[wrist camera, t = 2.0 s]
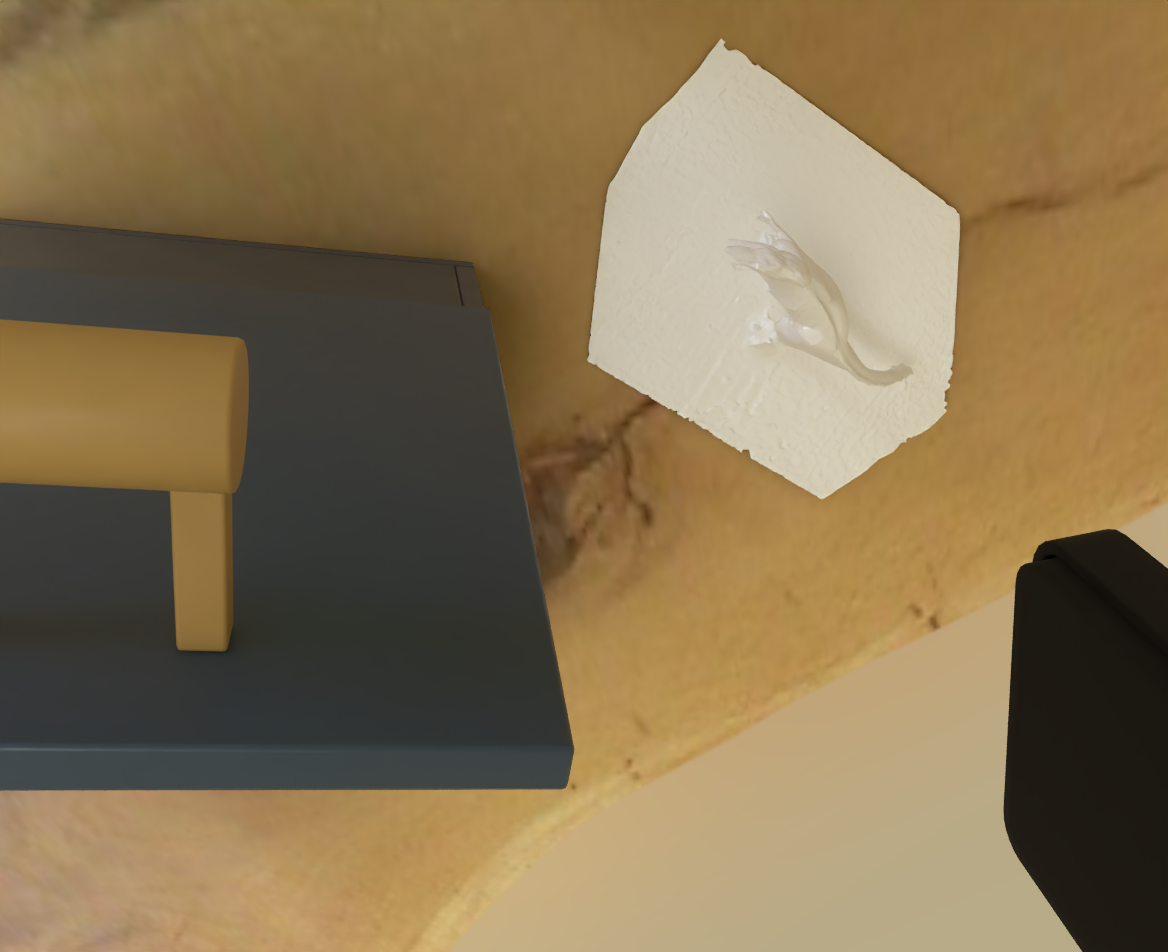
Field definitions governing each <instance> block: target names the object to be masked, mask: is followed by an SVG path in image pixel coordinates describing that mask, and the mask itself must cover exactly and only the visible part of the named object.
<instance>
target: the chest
mask: <svg viewBox="0 0 1168 952" xmlns="http://www.w3.org/2000/svg"><path fill="white" fill-rule="evenodd" d="M0 267H11V268H22V269H34V270H46V271H58V272H70V273H81V274H93V275H105V276H117V277H129V278H140V279H152V280H164V281H176V282H187V283H199V284H211V285H223V286H235V287H246V288H258V289H270V290H282V291H294V292H305V293H317V294H329V295H341V296H353V297H364V298H376V299H388V300H400V301H412V302H423V303H435V304H447V305H459V306H471V307H482V308H484V304H483V300H482V296H481V292H480V289H479V285H478V281H477V277H476V273H475V270H474V266H473V263H471V262H461V261H450V260H440V259H429V258H418V257H407V256H396V255H386V254H375V253H364V252H353V251H342V250H332V249H321V248H310V247H299V246H288V245H278V244H267V243H256V242H245V241H235V240H224V239H213V238H202V237H191V236H181V235H170V234H159V233H148V232H137V231H127V230H116V229H105V228H94V227H84V226H73V225H62V224H51V223H40V222H30V221H19V220H8V219H0Z"/></svg>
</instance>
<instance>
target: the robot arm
mask: <svg viewBox="0 0 1168 952" xmlns="http://www.w3.org/2000/svg"><path fill="white" fill-rule="evenodd" d="M1013 624H1014V625H1013V643H1012V662H1011V680H1010V699H1009V717H1008V736H1007V755H1006V773H1005V775H1006V776H1005V792H1004V821H1005V827H1006V831H1007V834H1008V837H1009V840H1010V842H1011V845H1012V847H1013V850H1014V851H1015V853H1016V855H1017V857H1018V858H1019V860H1020V862H1021V863H1022V864H1023V866H1024V867H1025V869H1026V870H1027V872H1028V873H1029V875H1030V876H1031V878H1032V879H1033V880H1034V882H1035V883H1036V885H1037V886H1038V888H1039V889H1040V891H1041V892H1042V894H1043V895H1044V896H1045V898H1046V899H1047V901H1048V902H1049V904H1050V905H1051V907H1052V908H1053V910H1054V911H1055V912H1056V914H1057V915H1058V917H1059V918H1060V920H1061V921H1062V923H1063V924H1064V925H1065V927H1066V929H1067V930H1068V931H1069V933H1070V934H1071V936H1072V937H1073V939H1074V940H1075V942H1076V943H1077V945H1078V946H1079V947H1080V949H1081V950H1082V952H1168V568H1166V567H1165V566H1164V565H1163V564H1161V563H1160V562H1158V560H1156V559H1155V558H1154V557H1152V556H1151V555H1150V554H1149V553H1148V552H1146V551H1145V550H1144V549H1143V548H1141V547H1140V546H1139V545H1138V544H1136V543H1135V542H1134V541H1133V540H1131V539H1130V538H1129V537H1127V536H1126V535H1125V534H1123V533H1121V532H1119V531H1117V530H1111V529H1106V530H1101V531H1096V532H1091V533H1086V534H1081V535H1076V536H1071V537H1066V538H1061V539H1056V540H1051V541H1045V542H1044V543H1042V544H1041V545H1039V546H1038V548H1037V550H1036V552H1035V554H1034V558H1033V562H1032V563H1027V564H1024V565H1023V566H1021V567H1020V569H1019V571H1018V573H1017V577H1016V586H1015V606H1014V623H1013Z"/></svg>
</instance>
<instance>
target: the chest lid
mask: <svg viewBox="0 0 1168 952" xmlns="http://www.w3.org/2000/svg"><path fill="white" fill-rule="evenodd" d="M573 754H574V745H573V740H572V735H571V729H570V724H569V719H568V714H567V709H566V703H565V698H564V693H563V688H562V682H561V677H560V672H559V667H558V662H557V656H556V651H555V646H554V641H553V635H552V630H551V625H550V620H549V615H548V609H547V604H546V599H545V594H544V588H543V583H542V578H541V573H540V567H539V562H538V557H537V552H536V547H535V541H534V536H533V531H532V526H531V520H530V515H529V510H528V505H527V500H526V494H525V489H524V484H523V479H522V473H521V468H520V463H519V458H518V453H517V447H516V442H515V437H514V432H513V426H512V421H511V416H510V411H509V405H508V400H507V395H506V390H505V385H504V379H503V374H502V369H501V364H500V358H499V353H498V348H497V343H496V338H495V332H494V327H493V322H492V317H491V311H490V309H489V308H482V307H471V306H459V305H447V304H435V303H423V302H412V301H400V300H388V299H376V298H364V297H353V296H341V295H329V294H317V293H305V292H294V291H282V290H270V289H258V288H246V287H235V286H223V285H211V284H199V283H187V282H176V281H164V280H152V279H140V278H129V277H117V276H105V275H93V274H81V273H70V272H58V271H46V270H34V269H22V268H11V267H0V790H463V789H564V788H566V786H567V784H568V780H569V775H570V770H571V765H572V759H573Z"/></svg>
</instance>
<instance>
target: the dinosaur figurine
mask: <svg viewBox="0 0 1168 952" xmlns="http://www.w3.org/2000/svg"><path fill="white" fill-rule="evenodd" d="M724 43H725V41H723V40H722V38H721V39H720V41H719V42H718V43H717V44H716V46H715V47H714V48H713V49H712V51H711V52H710V53H709V55H708V56H707V57H706V59H705V60H704V62H703V63H702V65H701V66H700V68H699V69H698V70H697V71H696V72H695V73H694V74H693V75H692V77H691V78H690V79H689V80H688V81H687V82H686V83H685V84H684V85H683V86H682V87H681V88H680V89H679V91H678V92H677V93H676V95H675V96H674V97H673V98H672V99H671V100H670V101H668V102H667V103H666V104H665V105H664V106H662V107H661V108H660V109H659V110H658V111H657V112H656V114H655V115H654V116H653V117H652V118H651V119H650V120H649V121H648V122H647V123H645V124H644V125H643V127H642V129H641V131H640V132H639V134H638V136H637V138H636V140H635V142H634V143H633V145H632V147H631V149H630V150H629V152H628V154H627V156H626V157H625V159H624V161H623V163H622V165H621V167H620V169H619V171H618V173H617V175H616V176H615V178H614V179H613V180H612V181H611V183H610V185H609V187H608V194H607V196H606V200H607V202H606V203H605V210H604V211H605V212H604V219H603V220H604V221H603V222H604V223H603V225H602V226H603V228H602V235H601V237H602V239H601V245H600V250H601V251H600V254H599V259H600V260H599V262H598V263H599V265H598V267H599V268H598V269H597V280H596V287H595V288H596V289H595V293H594V294H595V296H594V299H595V302H594V303H593V305H594V307H593V316H592V319H593V320H592V324H591V326H592V328H591V329H590V331H591V337H589V338H590V340H589V341H590V342H589V348H588V350H589V353H590V355H589V356H588V358H587V360H588V362H590V363H592V364H593V365H595V364H597V366H598V367H599V368H601V369H602V370H603V371H605V372H607V373H609V374H610V375H613V376H614V377H615V378H617V379H619V380H622V381H624V383H625V384H628V385H630V386H631V387H632V388H635V389H636V390H638V391H639V392H640V393H642V394H645V395H649V397H651V399H652V400H653V399H654V400H655V401H657V402H659V404H661V405H662V406H665V407H667V408H668V409H671V408H672V411H678V413H677V414H678V415H680V416H683V418H684V419H685V418H689V421H694V422H695V424H698V425H699V426H701V427H702V429H707V430H709V432H710V433H712V435H714V436H716V438H719V439H722V440H723V442H726V443H727V444H729V445H730V446H732V447H735V448H736V450H739V451H740V452H741V453H742V450H749V452H750V456H751V457H750V458H751V459H753V460H756V461H757V462H759V464H761V465H763V466H766V467H767V468H768V469H771V470H772V471H773V472H777V473H778V474H780V475H783V476H784V478H785V479H788V480H790V481H791V482H793V483H794V484H797V486H800V487H802V489H803V488H804V489H805V490H806V491H807V490H808V491H809V493H812V494H813V495H816V496H817V498H820V499H821V500H822V499H824V498H826V497H827V496H829V495H831V494H832V493H833V492H835V491H836V490H837V489H839V488H841V487H842V486H844V485H845V484H847V483H848V482H850V481H851V480H853V479H854V478H856V477H858V476H859V475H861V474H862V473H863V472H865V471H866V470H868V469H869V467H871V466H872V465H873V464H874V463H875V462H876V461H878V460H879V459H880V458H882V457H884V456H887V455H888V454H890V453H892V452H894V450H895V449H896V448H898V446H899V445H900V443H903V442H907V441H906V440H907V438H908V437H910V438H912V437H913V436H917V435H918V434H921V433H922V432H924V431H926V430H927V429H928V428H930V427H931V426H932V425H933V424H935V423H936V422H937V420H938V419H939V418H940V417H941V416H942V415H943V414H944V413H945V412H946V411H947V410H946V409H944V407H945V406H946V405H947V403H946V402H945V401H944V399H945V393H944V391H946V390H947V389H948V388H950V384H948V380H950V379H951V378H950V377H951V376H952V370H951V369H950V368H951V367H952V362H953V355H952V349H953V348H954V347H953V346H954V345H953V344H954V334H955V315H956V314H955V310H956V308H955V307H956V300H957V296H956V295H957V293H956V292H957V291H956V290H957V279H958V278H957V274H958V272H957V271H958V257H959V256H958V255H959V241H960V220H959V219H960V216H959V214H958V213H956V212H957V211H956V210H955V208H953V207H951V206H949V205H946V203H945V201H943V200H942V199H940V198H939V196H936V195H935V194H933V193H932V192H931V191H928V188H926V187H925V186H922V184H920V183H919V182H918V181H917V180H915V179H914V178H912V177H910V175H908V174H907V173H905V172H904V171H901V169H899V167H897V166H896V165H895V164H893V163H892V162H889V160H888V159H886V158H885V157H883V156H882V155H881V154H880V153H878V152H877V151H875V150H874V149H873V148H872V147H870V146H868V145H867V144H865V142H864V141H862V140H860V139H858V137H856V135H854V134H852V133H851V132H849V131H848V130H846V129H845V127H842V126H840V124H839V123H837V122H835V120H832V118H830V117H829V116H827V115H825V114H824V113H823V112H822V111H821V110H820V109H818V108H817V107H816V106H814V105H813V104H812V103H809V102H808V101H807V100H806V99H805V98H803V97H802V96H801V95H799V94H797V93H796V92H795V91H794V90H793V89H791V88H790V87H788V86H786V85H785V84H783V83H782V82H781V81H780V80H779V79H777V78H776V77H775V76H774V75H772V74H770V73H768V71H766V70H763V69H762V68H761V67H760V66H759V65H756V66H755V65H753V64H752V63H751V61H749V60H748V58H747V56H745V55H744V54H743V53H741V52H740V51H738V50H737V49H735V50H731V51H728V50H727V49H726V48H725V47H724V46H723V45H724ZM908 442H909V441H908Z"/></svg>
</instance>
